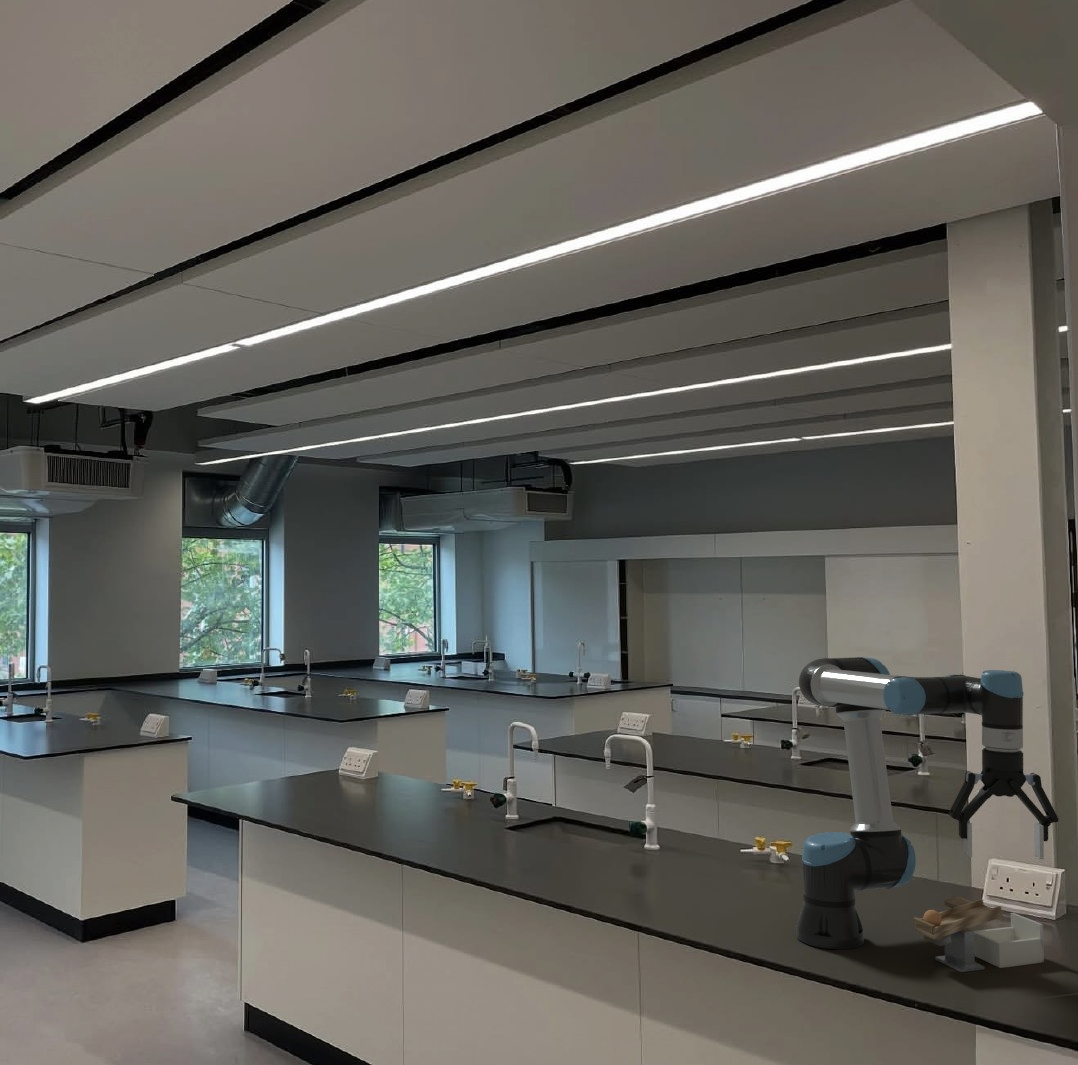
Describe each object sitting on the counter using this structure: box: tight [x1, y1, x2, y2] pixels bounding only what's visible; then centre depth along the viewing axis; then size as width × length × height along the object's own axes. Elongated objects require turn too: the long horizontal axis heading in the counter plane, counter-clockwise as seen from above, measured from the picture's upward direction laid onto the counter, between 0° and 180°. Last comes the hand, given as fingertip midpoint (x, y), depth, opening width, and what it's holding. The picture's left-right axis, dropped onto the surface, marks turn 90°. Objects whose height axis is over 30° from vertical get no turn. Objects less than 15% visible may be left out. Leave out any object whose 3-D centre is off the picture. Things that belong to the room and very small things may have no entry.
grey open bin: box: [973, 912, 1045, 969], centre depth 223 cm, size 9×12×8 cm
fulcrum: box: [935, 928, 985, 973], centre depth 220 cm, size 6×8×8 cm
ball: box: [922, 909, 941, 927], centre depth 218 cm, size 4×4×4 cm
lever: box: [913, 895, 1004, 947], centre depth 223 cm, size 18×13×5 cm
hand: (1003, 856), depth 203 cm, fingers open, 13 cm apart
